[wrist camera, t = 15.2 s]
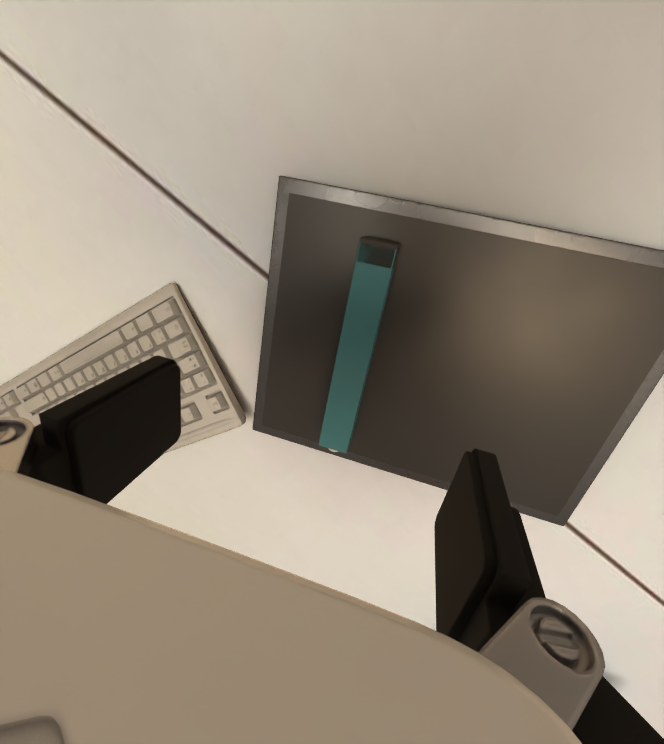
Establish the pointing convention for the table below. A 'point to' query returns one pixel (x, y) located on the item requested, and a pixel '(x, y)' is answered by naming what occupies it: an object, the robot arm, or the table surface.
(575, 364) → the tablet
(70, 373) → the keyboard
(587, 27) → the table surface
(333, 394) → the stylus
